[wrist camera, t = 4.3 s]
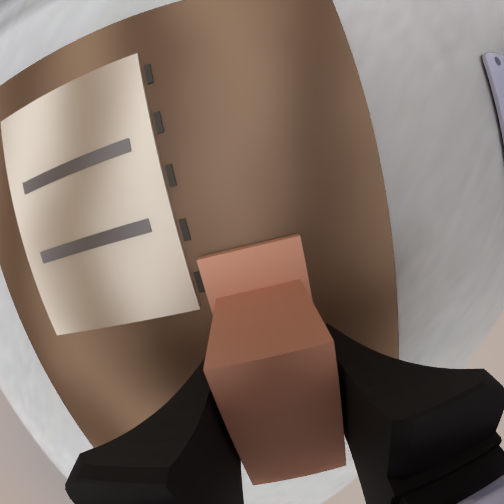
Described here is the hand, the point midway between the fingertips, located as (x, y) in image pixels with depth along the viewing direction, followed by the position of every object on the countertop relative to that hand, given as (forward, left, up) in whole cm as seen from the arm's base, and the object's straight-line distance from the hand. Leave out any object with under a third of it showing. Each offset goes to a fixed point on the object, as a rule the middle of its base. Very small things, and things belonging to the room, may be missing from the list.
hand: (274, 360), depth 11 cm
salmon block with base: (0, 0, -1) cm, 1 cm away
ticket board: (+3, -4, -3) cm, 6 cm away
